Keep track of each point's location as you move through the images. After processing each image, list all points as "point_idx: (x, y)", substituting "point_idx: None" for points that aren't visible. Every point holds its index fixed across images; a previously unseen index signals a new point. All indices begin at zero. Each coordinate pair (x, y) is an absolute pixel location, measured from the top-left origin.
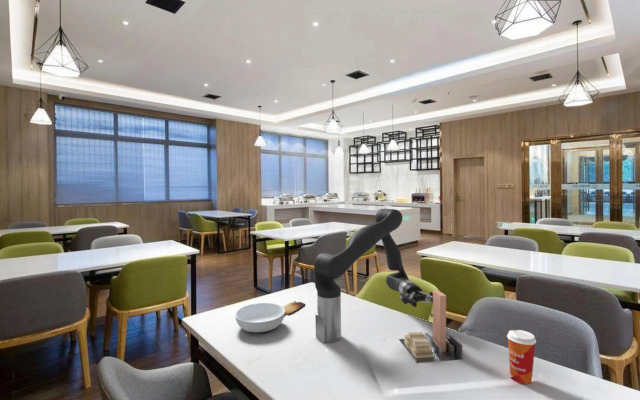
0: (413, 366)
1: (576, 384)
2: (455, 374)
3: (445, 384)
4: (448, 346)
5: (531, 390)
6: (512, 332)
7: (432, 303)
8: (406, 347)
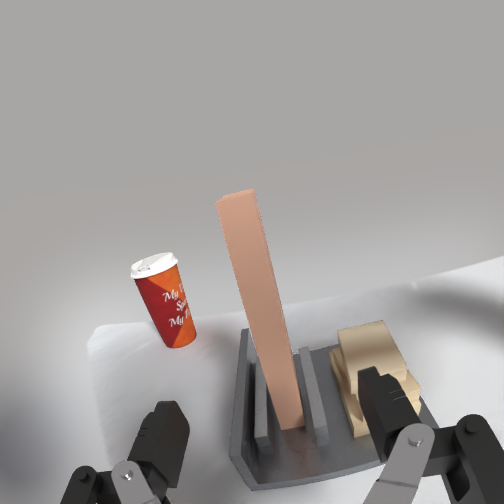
0: None
1: (122, 334)
2: (295, 335)
3: (328, 311)
4: None
5: None
6: (158, 260)
7: (178, 474)
8: None
